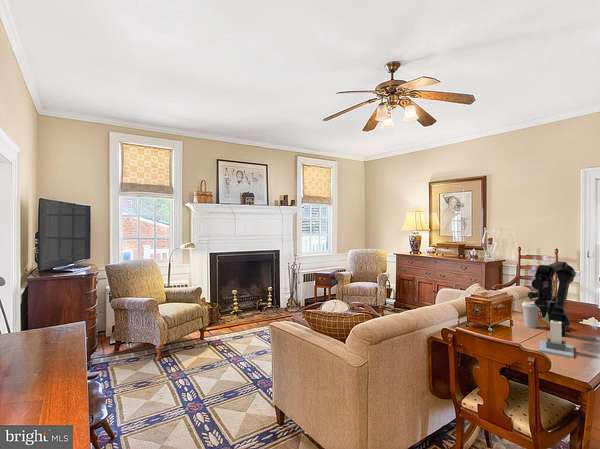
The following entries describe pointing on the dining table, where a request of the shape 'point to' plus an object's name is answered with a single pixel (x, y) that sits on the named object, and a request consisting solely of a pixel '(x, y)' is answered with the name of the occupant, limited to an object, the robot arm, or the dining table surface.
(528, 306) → the coffee cup
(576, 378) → the dining table surface
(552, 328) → the charger
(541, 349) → the outlet
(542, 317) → the handheld radio
